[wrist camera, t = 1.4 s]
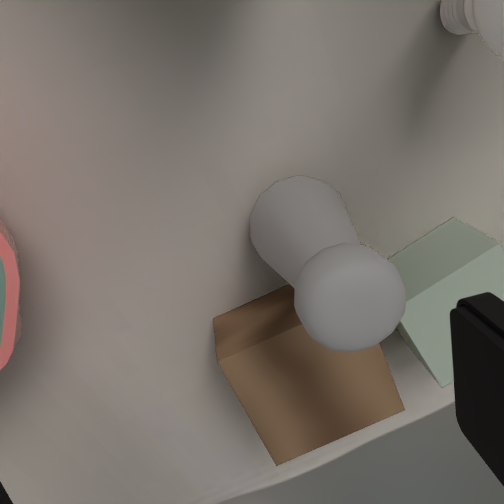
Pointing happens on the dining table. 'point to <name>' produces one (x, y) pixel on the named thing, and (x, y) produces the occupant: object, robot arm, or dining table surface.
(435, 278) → the sage block
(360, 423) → the walnut block
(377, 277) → the salt shaker
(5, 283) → the cell model
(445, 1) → the lightbulb
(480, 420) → the robot arm
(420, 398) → the dining table surface
